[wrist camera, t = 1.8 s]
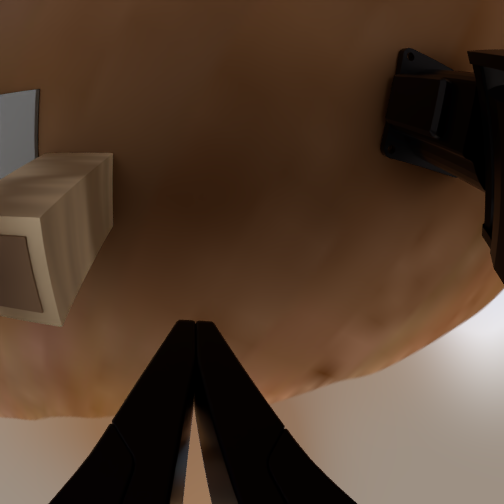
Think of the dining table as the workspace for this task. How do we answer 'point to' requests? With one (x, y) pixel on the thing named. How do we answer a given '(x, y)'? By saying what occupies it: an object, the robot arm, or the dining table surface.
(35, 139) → the mat
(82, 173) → the pillar
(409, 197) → the dining table surface
